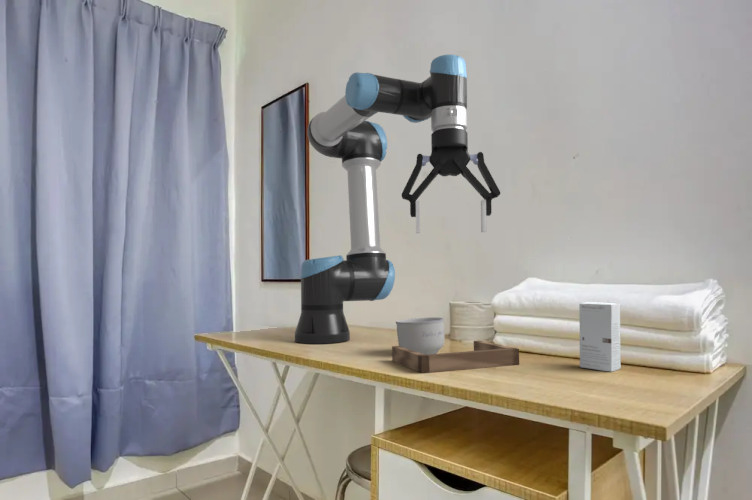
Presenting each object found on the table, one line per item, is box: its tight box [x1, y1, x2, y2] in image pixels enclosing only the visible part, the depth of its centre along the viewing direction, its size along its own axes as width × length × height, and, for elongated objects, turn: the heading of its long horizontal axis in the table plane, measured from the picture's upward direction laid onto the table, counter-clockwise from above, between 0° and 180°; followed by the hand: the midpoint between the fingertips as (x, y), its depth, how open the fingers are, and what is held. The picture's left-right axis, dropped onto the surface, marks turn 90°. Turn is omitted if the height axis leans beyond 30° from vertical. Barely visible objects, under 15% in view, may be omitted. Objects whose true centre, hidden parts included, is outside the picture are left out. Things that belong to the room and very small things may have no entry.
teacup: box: [395, 316, 445, 355], centre depth 111 cm, size 14×11×8 cm
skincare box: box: [578, 301, 622, 372], centre depth 90 cm, size 6×4×12 cm
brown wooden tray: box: [391, 340, 520, 374], centre depth 98 cm, size 14×21×3 cm, turn 111°
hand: (450, 232), depth 101 cm, fingers open, 13 cm apart
